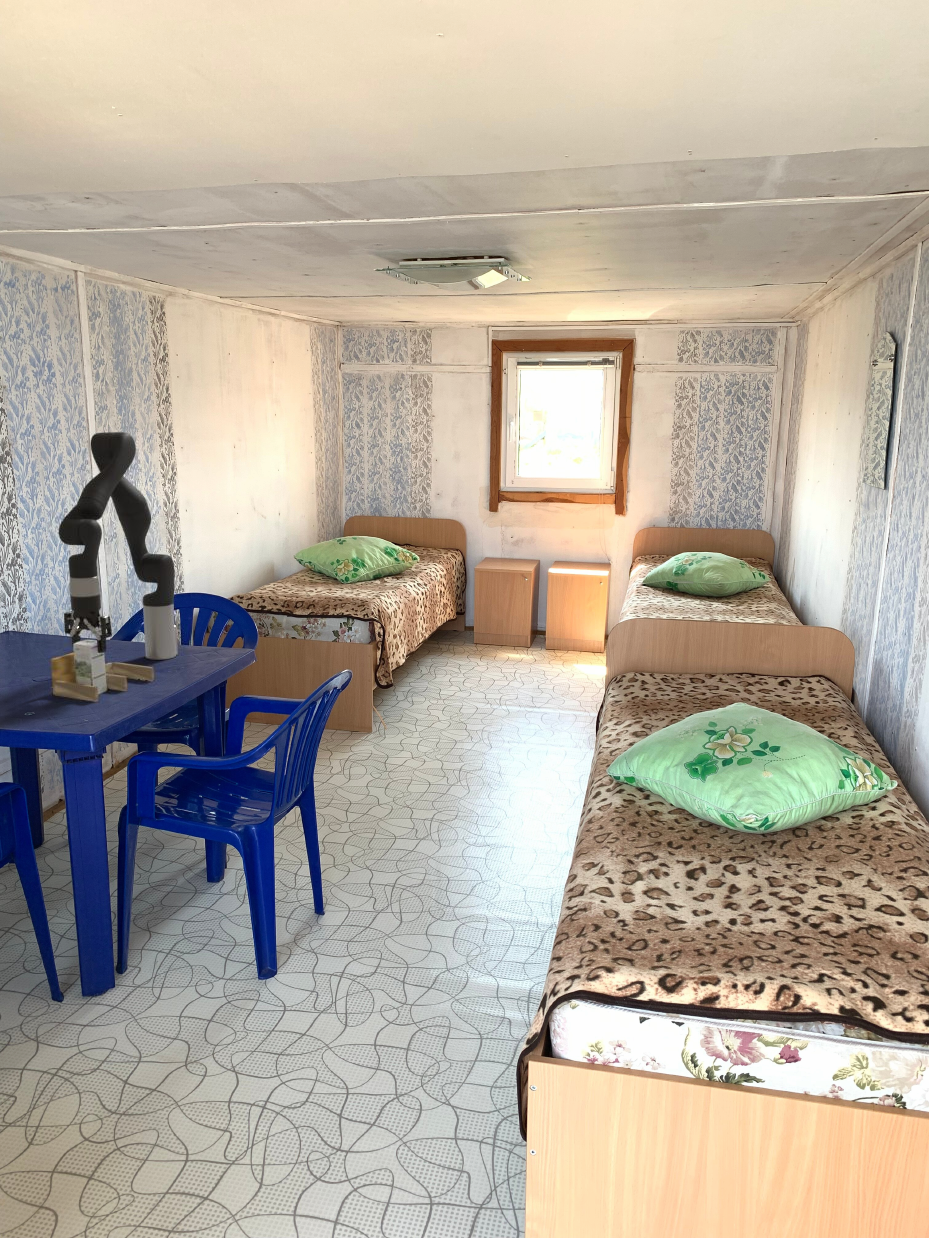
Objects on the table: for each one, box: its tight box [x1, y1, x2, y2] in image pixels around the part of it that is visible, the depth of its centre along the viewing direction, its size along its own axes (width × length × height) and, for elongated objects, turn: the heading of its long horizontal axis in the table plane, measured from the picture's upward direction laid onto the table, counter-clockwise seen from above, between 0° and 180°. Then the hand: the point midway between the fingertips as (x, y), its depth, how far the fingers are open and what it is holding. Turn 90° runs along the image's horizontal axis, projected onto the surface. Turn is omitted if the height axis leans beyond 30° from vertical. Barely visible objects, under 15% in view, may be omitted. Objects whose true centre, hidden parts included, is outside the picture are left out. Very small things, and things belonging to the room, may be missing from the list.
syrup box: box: [72, 639, 108, 695], centre depth 244 cm, size 6×6×14 cm
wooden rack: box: [50, 652, 155, 703], centre depth 249 cm, size 23×15×10 cm, turn 159°
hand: (89, 651), depth 243 cm, fingers open, 8 cm apart
